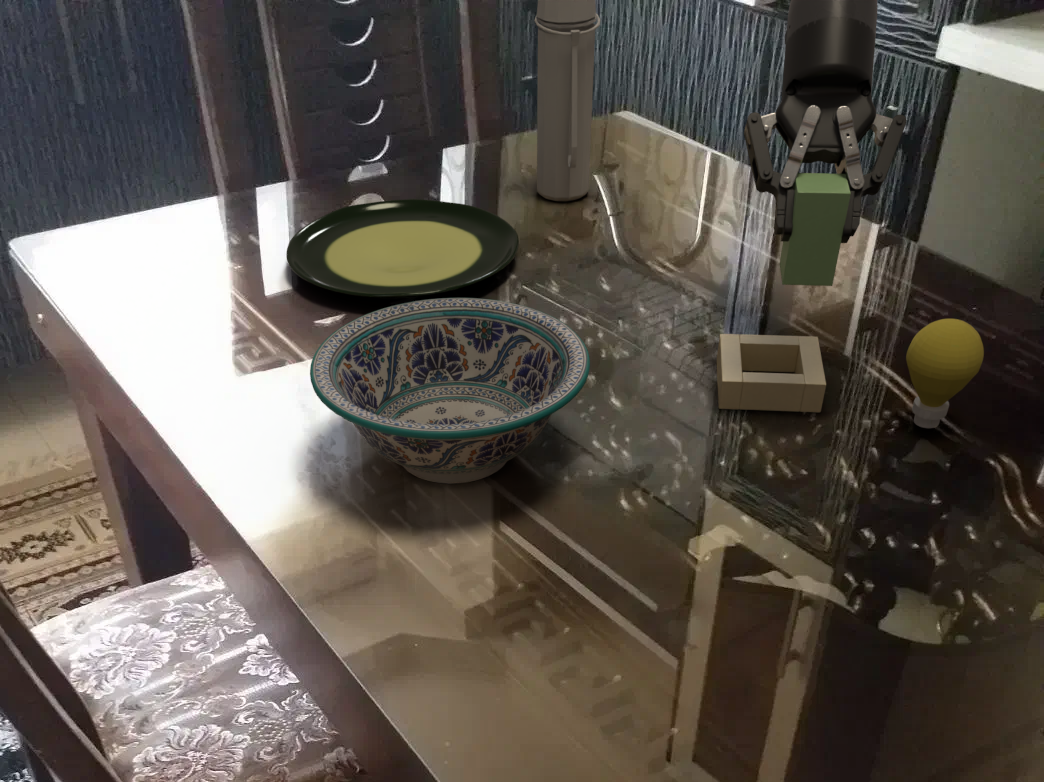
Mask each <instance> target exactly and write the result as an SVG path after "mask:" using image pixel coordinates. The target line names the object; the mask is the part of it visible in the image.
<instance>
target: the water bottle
mask: <svg viewBox="0 0 1044 782" xmlns="http://www.w3.org/2000/svg"><path fill="white" fill-rule="evenodd" d="M596 7H597V6H596V0H537V9H536V15H535V17H534V20H533V21H534V23H535V25H536V26H537V96H536V97H537V101H536V102H537V104H536V105H537V106H536V107H537V108H536V109H537V111H536V112H537V113H536V115H537V116H536V117H537V118H536V120H537V121H536V192H537V193H538V194H539V195H540V196H541V197H543V198H544V199H546V200H550V201H552V202H553V201H554V202H571V201H576V200H579V199H581V198H582V197H584V196H586V195H587V194H588V193H589V190H590V171H591V170H590V169H591V148H592V147H591V145H592V121H593V120H592V119H593V95H594V93H593V92H594V68H595V67H594V66H595V44H596V43H595V41H596V29H598V28H599V27H600V26H601V18H600V16H599V14H598V13H597V8H596ZM595 23H596V24H595Z"/></svg>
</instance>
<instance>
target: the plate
mask: <svg viewBox="0 0 1044 782" xmlns="http://www.w3.org/2000/svg"><path fill="white" fill-rule="evenodd" d="M519 245H520V238H519V235H518V233H517V231H516V229H515V228H514V227H513V226H512V225H511V224H510V223H509V222H508V221H507V220H505V219H504V218H502V217H500V215H497V214H495V213H493V212H491V211H489V210H486V209H483V208H481V207H478V206H474V205H469V204H466V203H465V204H464V203H458V202H451V201H450V202H449V201H448V202H447V201H442V200H433V199H422V198H421V199H420V198H409V199H408V198H407V199H390V200H381V201H373V202H367V203H359V204H353V205H348V206H347V205H346V206H344V207H341V208H338V209H335V210H333V211H331V212H329V213H326V214H324V215H323V216H321V217H318V218H316V219H314V220H312V221H311V222H309V223H308V224H306V225H305V226H303V227H302V228H300V229H298V231H297V232H296V233H295V234H294V235H293V236H292V238H291V239H290V240H289V242H288V244H287V248H286V254H285V255H286V262H287V265H288V266H289V267H290V270H292V271H293V272H294V273H295V274H296V275H297V276H298V277H300V278H301V279H302V280H304V281H306V282H307V283H309V284H312V285H314V286H316V287H319V288H321V289H324V290H327V291H330V292H334V293H340V294H345V295H349V296H354V297H360V298H369V299H412V298H423V297H430V296H436V295H441V294H445V293H450V292H453V291H457V290H459V289H463V288H466V287H468V286H471V285H475V284H476V283H477V284H478V283H479V282H482V281H484V280H486V279H488V278H490V277H492V276H494V275H495V274H497V273H499V272H500V271H502V270H503V269H505V267H507V266H508V265H509V264H510V263H511V262H512V261H513V260H514V258H515V257H516V255H517V253H518V250H519Z"/></svg>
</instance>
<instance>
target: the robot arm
mask: <svg viewBox="0 0 1044 782" xmlns="http://www.w3.org/2000/svg"><path fill="white" fill-rule="evenodd" d="M786 20H787V22H786V30H785V33H784V44H785V46H784V62H783V72H782V73H783V76H782V87H781V88H782V89H781V101H780V103H779V105H778V106H777V108H776V111H775V112H771V113H768V114H764V115H761V114H760V113H759V112H757V111H753V112H751V113H749V114H748V115H747V120H746V123H745V127H744V131H743V137H744V142H745V145H746V150H747V155H748V159H749V164H750V168H751V172H752V177H753V182H754V185H755V189H756V191H757V192H759V193H762V194H763V193H768V194H771V195H772V196H773V197H774V200H775V207H774V219H773V220H774V222H773V231H774V234H775V235H779V236H780V242H782V243H783V242H788V241H789V239H790V237H791V235H792V230H793V209H794V196H795V190H793V184H794V181H795V178H796V176H797V173H800V172H799V171H800V169H801V166H802V164H812V163H817V162H822V163H825V164H831V165H833V164H834V167H835V171H836V174H846V177H847V181H848V185H849V189H850V193H851V195H850V200H849V205H848V210H847V215H846V220H845V225H844V228H843V233H842V240H841V244H848V242H849V240H850V238H851V237H854V236H855V234H856V232H857V230H858V228H859V226H860V223H861V210H862V198H863V197H865V196H868V195H869V196H876V195H877V194H878V193H879V191H880V189H881V187H882V185H883V183H884V182H885V180H886V178H887V175H888V173H889V170H890V168H891V166H892V163H893V160H894V157H895V154H896V152H897V149H898V147H899V144H900V141H901V138H902V136H903V133H904V131H905V129H906V125H907V121H908V120H907V117H906V116H905V115H904V114H895V116H894V117H893V118H892V117H888V116H885V115H882V114H879V113H877V109H876V106H875V104H874V102H873V99H872V89H873V77H874V63H875V51H876V39H877V38H876V35H877V24H878V23H877V22H878V0H790V2H789V7H788V12H787V19H786ZM775 129H776V131H777V132H778V134H779V135H780V137H781V139H782V140H783V141H784V142H785V144H786V146H787V147H788V149H789V151H790V152H789V155H788V158H787V161H786V164H785V166H784V167H783V171H782V173H780V172H778V171H775V170H774V166H773V162H772V157H771V153H770V150H769V145H768V144H769V142H770V141H771V138H772V134H773V130H775ZM870 130H871V131H872V132H873V133H874V139H873V140H874V144H875V145H876V146H877V147H880V148H879V150H878V153H877V156H876V158H875V161H874V163H873V166H872V169H871V171H870V172H868V173H866V174H864V172H863V169H862V164H861V153H860V152H861V151H860V148H859V143H860V142H861V141H862V140H863V138H864V137H865V136H866V135H867V134H868V132H869V131H870Z"/></svg>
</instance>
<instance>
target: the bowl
mask: <svg viewBox="0 0 1044 782" xmlns="http://www.w3.org/2000/svg"><path fill="white" fill-rule="evenodd" d="M590 368H591V358H590V353H589V350H588V348H587V346H586V343H585V341H584V340H583V339H582V338H581V337H580V336H579V335H578V334H577V333H576V331H575V330H573V329H572V328H571V327H570V326H569V325H568V324H566V323H564V322H563V321H562V320H560V319H558V318H556V317H554V316H552V315H551V314H548V313H546V312H543V311H541V310H538V309H536V308H533V307H530V306H526V305H522V304H518V303H514V302H510V301H504V300H499V299H489V298H479V297H478V298H477V297H442V298H429V299H421V300H415V301H414V300H413V301H408V302H404V303H399V304H398V303H397V304H395V305H391V306H387V307H384V308H380V309H377V310H374V311H371V312H368V313H366V314H364V315H362V316H358V317H357V318H355V319H353V320H351V321H349V322H347V323H346V324H344V325H342V326H341V327H339V328H338V329H337V330H335V331H334V332H332V333H331V334H330V335H329V336H328V337H327V338H325V340H323V342H322V343H321V344H320V345H319V346H318V348H317V349H316V351H315V353H314V354H313V357H312V359H311V362H310V367H309V377H310V384H311V387H312V389H313V391H314V393H315V394H316V395H315V396H317V398H318V399H319V400H320V402H321V403H322V404H323V405H324V406H325V407H327V408H328V409H329V410H330V411H331V412H332V413H334V414H336V415H337V416H339V417H340V418H342V419H344V420H346V421H348V422H350V423H352V424H353V425H354V426H355V428H356V430H357V431H358V432H359V433H360V435H361V436H362V438H363V439H364V440H365V441H366V442H367V443H368V445H369V446H371V447H372V448H373V449H374V450H375V451H376V452H377V453H378V454H380V455H381V456H383V457H384V458H386V459H387V460H389V461H391V462H393V463H394V464H397V465H399V466H402V467H403V469H405V471H407V472H408V473H409V474H411V475H412V476H415V477H417V478H419V479H422V480H424V481H428V482H432V483H438V484H465V483H470V482H474V481H479V480H482V479H485V478H487V477H490V476H491V475H493V474H495V473H497V472H498V471H500V470H501V469H502V468H503V467H504V466H505V465H506V464H507V462H508V461H510V460H512V459H514V458H516V457H517V456H518V455H520V454H521V453H523V452H524V451H526V449H528V448H529V447H530V446H531V445H532V444H533V443H534V442H535V441H536V440H537V438H538V437H539V436H540V435H541V433H542V431H543V430H544V429H545V427H546V426H547V423H548V422H549V420H550V419H551V417H552V415H553V414H555V413H556V412H558V411H559V410H561V409H562V408H563V407H565V406H566V405H567V404H569V403H570V402H572V401H573V399H575V397H576V396H578V394H579V393H580V392H581V390H583V388H584V386H585V384H586V383H587V380H588V377H589V374H590Z"/></svg>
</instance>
